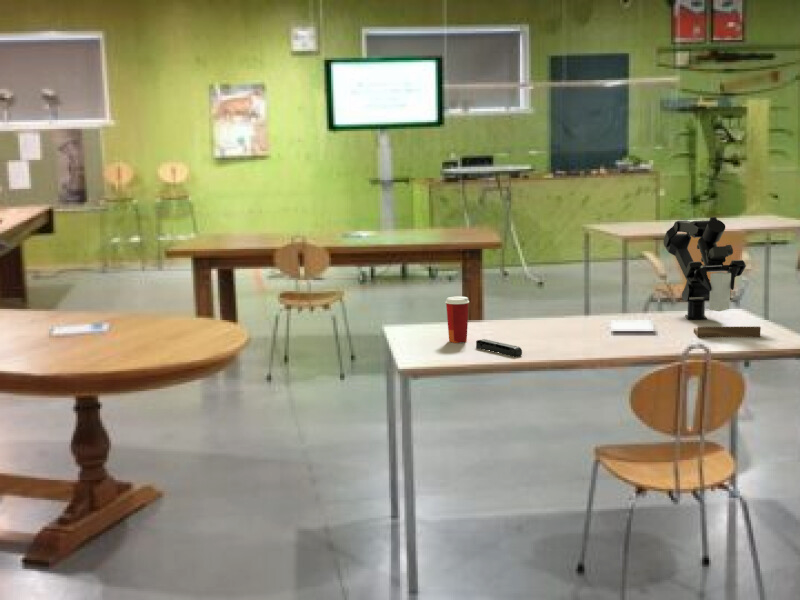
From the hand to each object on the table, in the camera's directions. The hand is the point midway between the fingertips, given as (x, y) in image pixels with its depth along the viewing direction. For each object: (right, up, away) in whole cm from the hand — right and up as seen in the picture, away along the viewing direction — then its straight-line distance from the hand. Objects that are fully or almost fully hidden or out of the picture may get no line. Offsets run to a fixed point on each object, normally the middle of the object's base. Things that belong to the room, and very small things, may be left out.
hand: (721, 289), depth 324 cm
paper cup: (-86, -17, -5) cm, 88 cm away
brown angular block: (0, -14, -6) cm, 15 cm away
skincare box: (0, -7, +3) cm, 7 cm away
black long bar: (-75, -20, -22) cm, 80 cm away
